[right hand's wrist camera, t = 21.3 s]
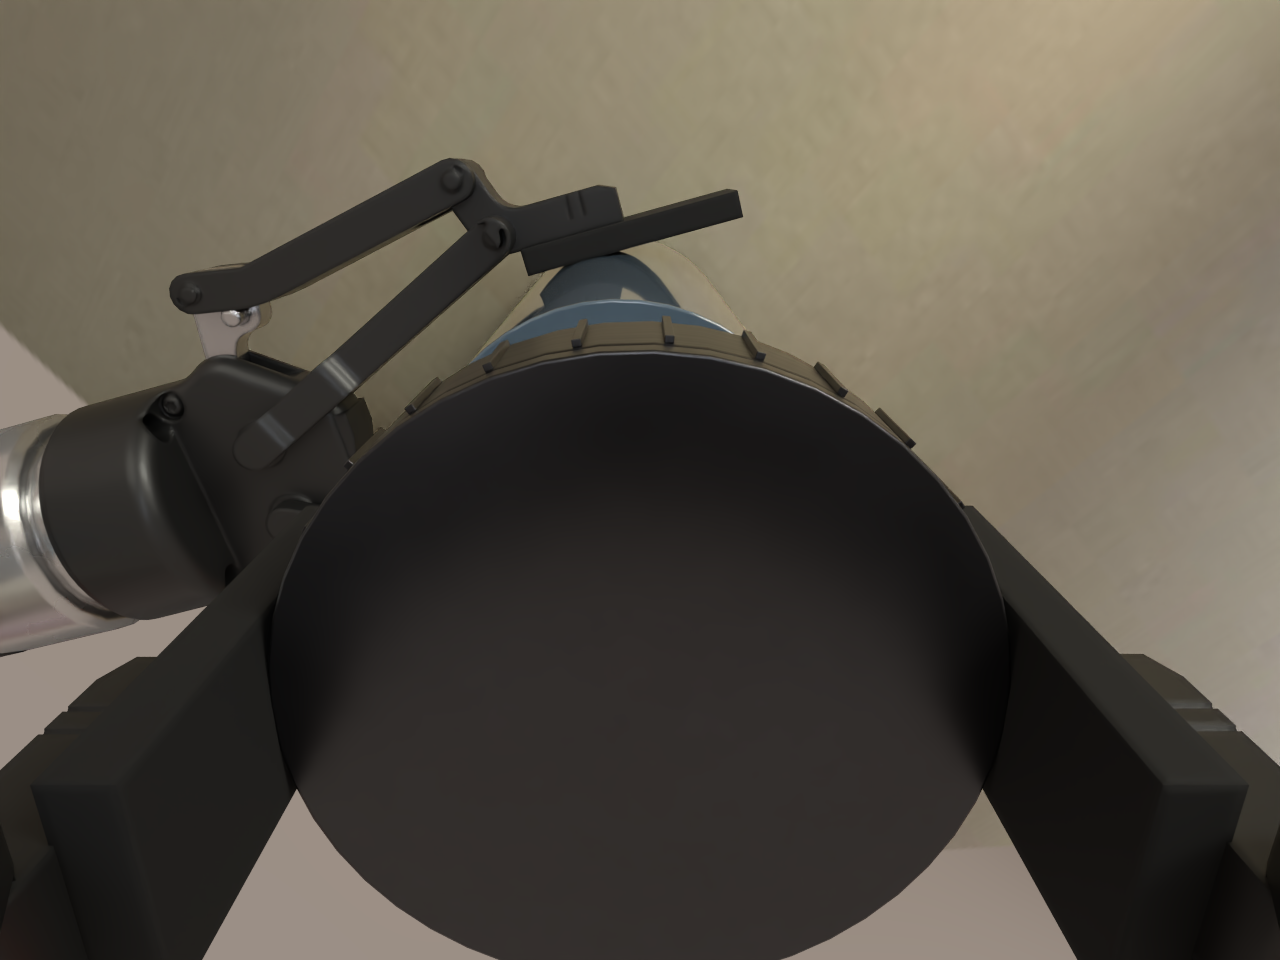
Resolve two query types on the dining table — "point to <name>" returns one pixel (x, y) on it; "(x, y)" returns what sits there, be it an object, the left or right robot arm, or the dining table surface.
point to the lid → (639, 652)
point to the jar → (617, 296)
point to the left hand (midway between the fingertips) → (764, 345)
